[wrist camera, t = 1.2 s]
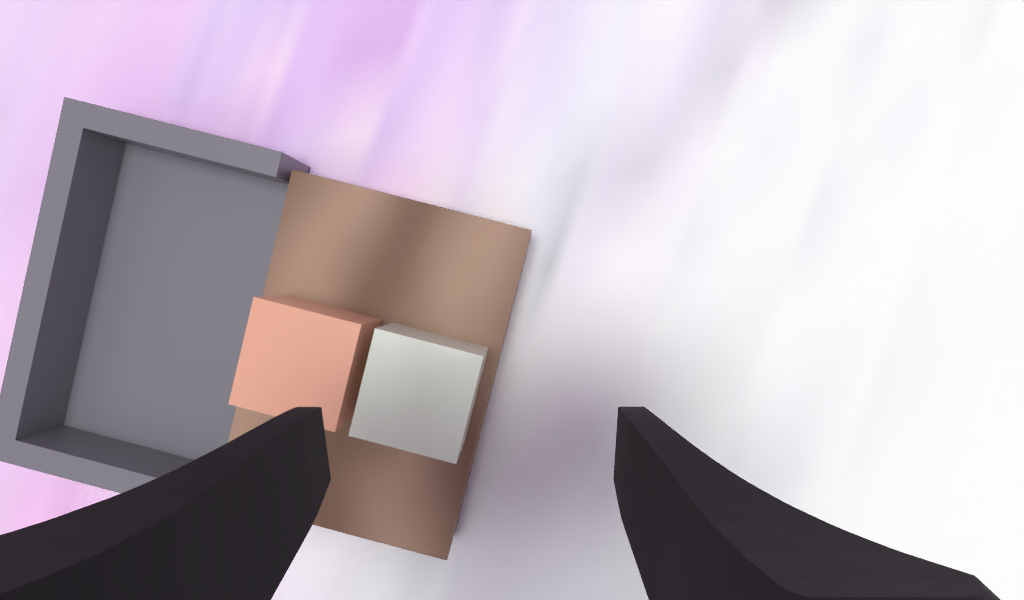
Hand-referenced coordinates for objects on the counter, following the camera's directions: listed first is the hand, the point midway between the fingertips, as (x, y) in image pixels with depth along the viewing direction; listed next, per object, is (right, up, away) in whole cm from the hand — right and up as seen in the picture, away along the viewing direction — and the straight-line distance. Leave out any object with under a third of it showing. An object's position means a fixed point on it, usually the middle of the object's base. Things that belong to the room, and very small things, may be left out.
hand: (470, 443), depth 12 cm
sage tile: (-2, 0, +8) cm, 8 cm away
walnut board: (-5, +1, +10) cm, 11 cm away
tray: (-14, +3, +10) cm, 18 cm away
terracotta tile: (-7, +1, +8) cm, 11 cm away
